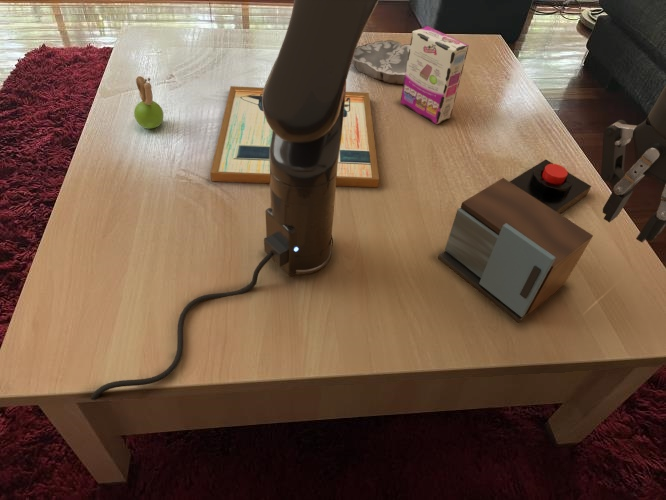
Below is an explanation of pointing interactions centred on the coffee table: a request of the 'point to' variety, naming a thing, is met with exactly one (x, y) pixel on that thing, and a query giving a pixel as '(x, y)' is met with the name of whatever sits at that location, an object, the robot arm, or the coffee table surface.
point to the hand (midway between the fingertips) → (626, 227)
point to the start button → (554, 174)
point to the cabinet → (527, 218)
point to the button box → (551, 188)
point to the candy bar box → (433, 73)
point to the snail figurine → (147, 106)
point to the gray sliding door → (516, 269)
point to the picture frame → (255, 137)
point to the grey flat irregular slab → (383, 60)
